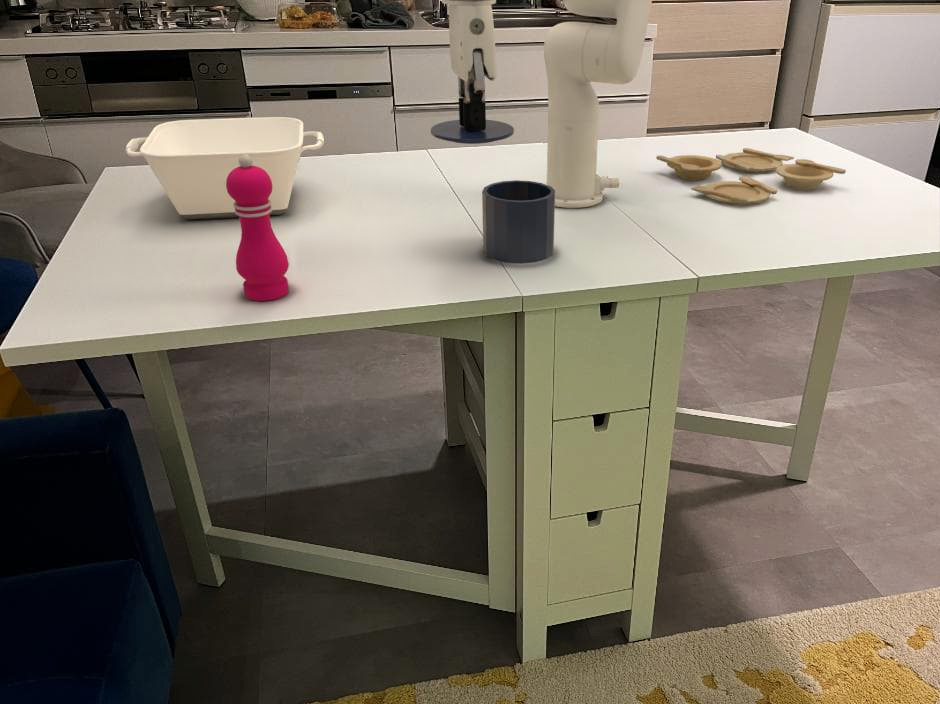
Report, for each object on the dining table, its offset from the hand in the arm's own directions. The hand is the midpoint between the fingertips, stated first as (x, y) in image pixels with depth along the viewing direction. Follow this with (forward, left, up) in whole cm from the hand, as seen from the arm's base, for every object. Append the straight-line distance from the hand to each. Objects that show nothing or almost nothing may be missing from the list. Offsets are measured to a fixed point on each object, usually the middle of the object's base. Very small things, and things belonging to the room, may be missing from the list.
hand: (472, 126), depth 124 cm
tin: (-7, 0, -21) cm, 22 cm away
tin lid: (0, 0, -1) cm, 1 cm away
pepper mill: (+33, +6, -21) cm, 39 cm away
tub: (+37, -38, -21) cm, 57 cm away
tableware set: (-65, -29, -21) cm, 75 cm away
